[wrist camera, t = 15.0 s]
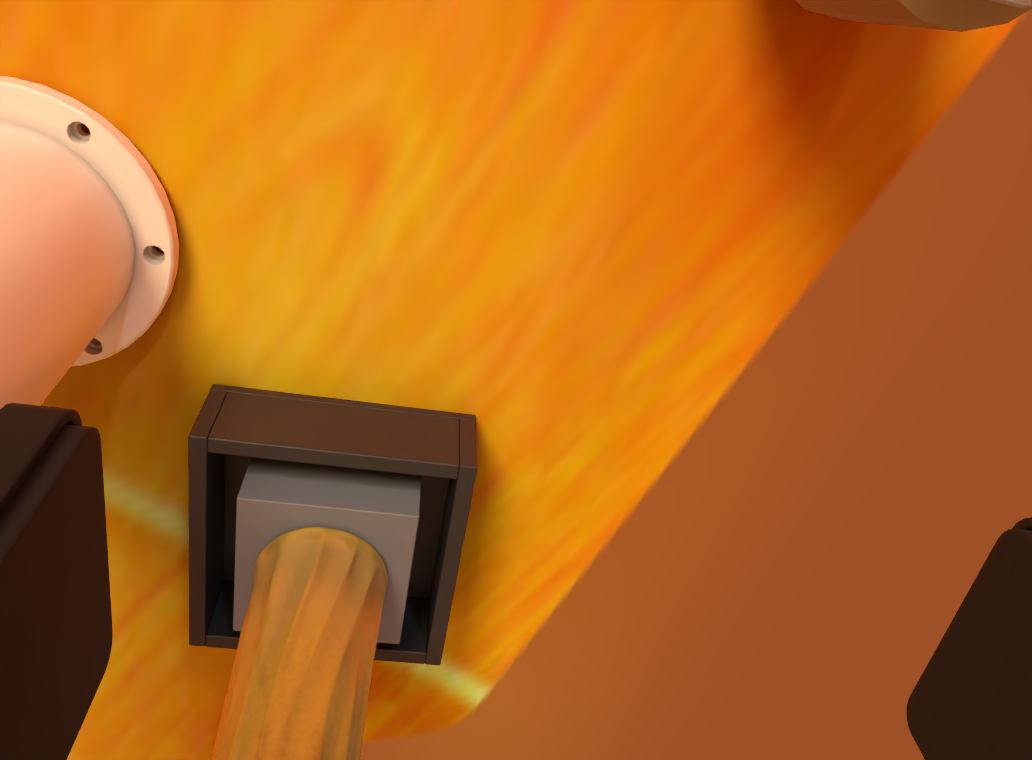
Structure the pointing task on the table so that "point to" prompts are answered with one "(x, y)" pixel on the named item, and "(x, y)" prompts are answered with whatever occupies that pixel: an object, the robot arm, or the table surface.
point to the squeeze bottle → (923, 12)
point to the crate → (334, 442)
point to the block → (329, 522)
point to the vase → (305, 650)
